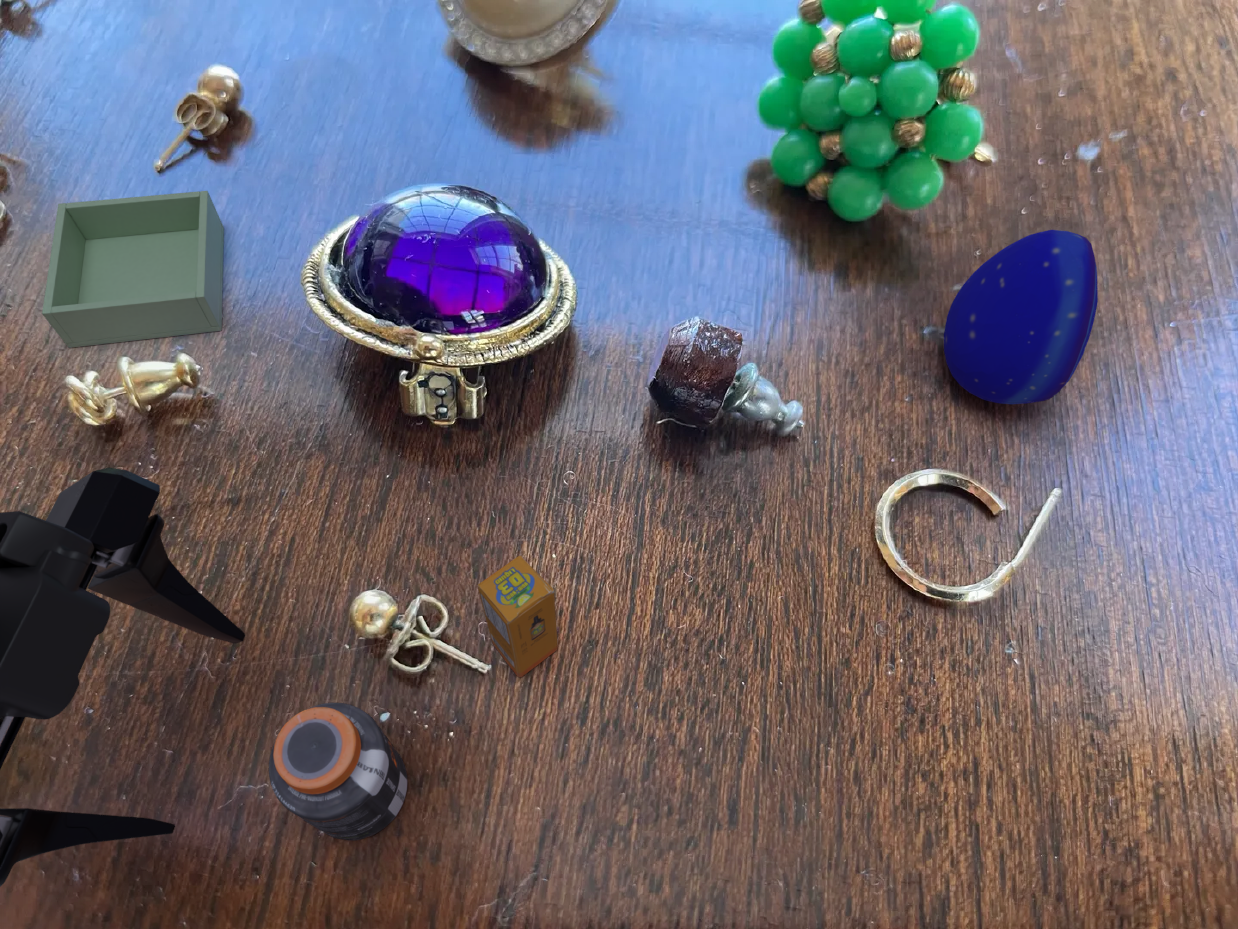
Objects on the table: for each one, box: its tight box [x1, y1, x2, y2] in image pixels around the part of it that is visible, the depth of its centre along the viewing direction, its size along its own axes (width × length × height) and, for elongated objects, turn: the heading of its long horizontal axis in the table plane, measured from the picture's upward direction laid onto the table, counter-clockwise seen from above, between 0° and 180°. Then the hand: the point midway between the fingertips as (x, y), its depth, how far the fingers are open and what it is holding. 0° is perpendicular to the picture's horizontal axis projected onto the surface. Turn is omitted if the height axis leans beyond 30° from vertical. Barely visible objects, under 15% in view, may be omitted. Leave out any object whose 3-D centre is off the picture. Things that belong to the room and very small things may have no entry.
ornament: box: [943, 229, 1099, 405], centre depth 65 cm, size 11×9×15 cm
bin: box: [41, 190, 225, 349], centre depth 69 cm, size 11×11×4 cm
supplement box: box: [477, 555, 559, 678], centre depth 54 cm, size 3×3×10 cm
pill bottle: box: [268, 702, 408, 841], centre depth 48 cm, size 6×6×11 cm
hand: (208, 729), depth 43 cm, fingers open, 9 cm apart
